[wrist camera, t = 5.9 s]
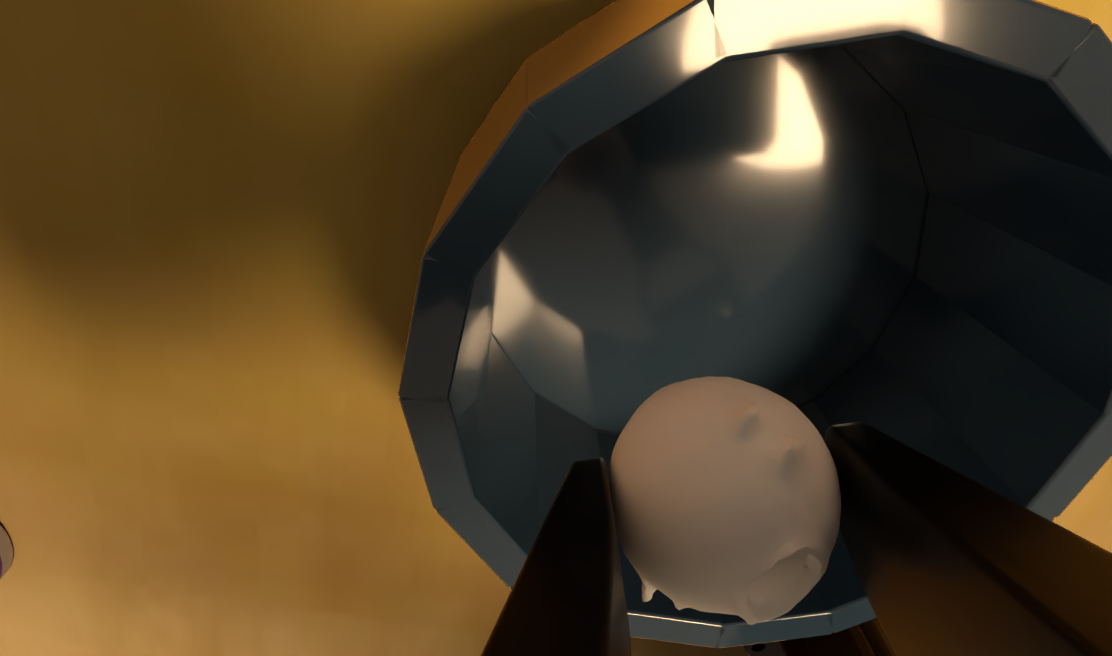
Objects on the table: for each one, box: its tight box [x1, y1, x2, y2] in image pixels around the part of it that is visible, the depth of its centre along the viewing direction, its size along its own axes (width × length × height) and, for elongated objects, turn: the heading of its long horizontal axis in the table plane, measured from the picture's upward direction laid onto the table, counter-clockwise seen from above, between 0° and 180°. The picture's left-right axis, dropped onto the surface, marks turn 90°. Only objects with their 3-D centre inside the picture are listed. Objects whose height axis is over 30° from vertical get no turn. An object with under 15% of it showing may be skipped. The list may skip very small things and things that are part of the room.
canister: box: [398, 0, 1112, 648], centre depth 13 cm, size 13×13×6 cm
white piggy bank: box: [609, 376, 841, 625], centre depth 8 cm, size 3×3×3 cm
